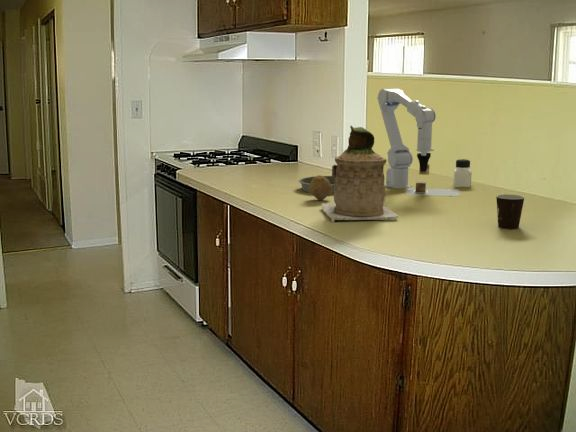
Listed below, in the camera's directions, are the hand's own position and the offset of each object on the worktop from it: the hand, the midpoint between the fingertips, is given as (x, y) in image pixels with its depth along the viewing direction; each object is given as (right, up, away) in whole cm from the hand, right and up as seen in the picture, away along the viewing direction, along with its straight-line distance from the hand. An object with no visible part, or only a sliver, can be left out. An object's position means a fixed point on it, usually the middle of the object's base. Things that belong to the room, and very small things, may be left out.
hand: (423, 170), depth 271 cm
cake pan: (-40, -8, +13) cm, 43 cm away
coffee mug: (+14, -23, -61) cm, 67 cm away
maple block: (0, -1, 0) cm, 1 cm away
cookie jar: (-32, -19, -39) cm, 53 cm away
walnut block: (-1, -9, +2) cm, 9 cm away
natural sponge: (-44, -13, -11) cm, 47 cm away
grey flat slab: (+4, -9, +1) cm, 10 cm away
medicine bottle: (+21, -6, +17) cm, 27 cm away
